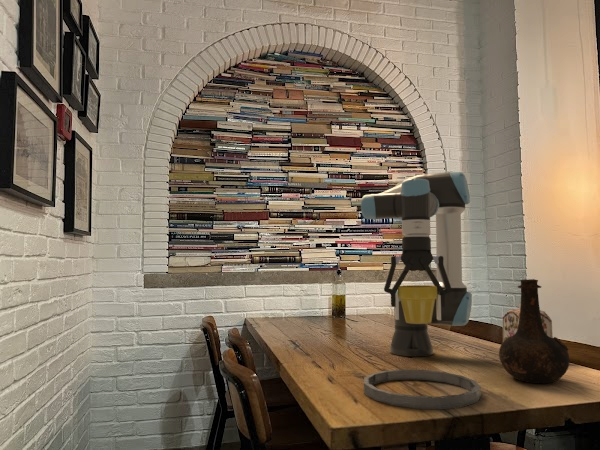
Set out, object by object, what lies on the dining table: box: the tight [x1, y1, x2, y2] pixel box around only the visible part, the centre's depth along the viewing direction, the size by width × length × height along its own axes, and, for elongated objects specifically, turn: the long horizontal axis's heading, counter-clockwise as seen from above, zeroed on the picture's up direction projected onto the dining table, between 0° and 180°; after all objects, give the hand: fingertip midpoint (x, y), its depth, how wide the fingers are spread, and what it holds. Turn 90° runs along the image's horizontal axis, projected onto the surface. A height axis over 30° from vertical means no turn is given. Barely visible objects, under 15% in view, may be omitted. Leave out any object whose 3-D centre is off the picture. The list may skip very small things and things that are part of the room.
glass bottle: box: [498, 278, 570, 384], centre depth 139 cm, size 18×18×28 cm
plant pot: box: [397, 284, 437, 325], centre depth 132 cm, size 10×10×10 cm
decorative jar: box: [502, 303, 554, 343], centre depth 171 cm, size 12×12×18 cm
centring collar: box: [363, 368, 482, 410], centre depth 126 cm, size 28×28×2 cm
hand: (417, 319), depth 132 cm, fingers closed on plant pot, 10 cm apart
